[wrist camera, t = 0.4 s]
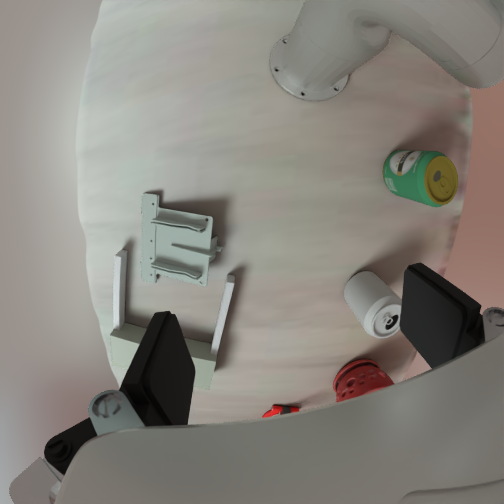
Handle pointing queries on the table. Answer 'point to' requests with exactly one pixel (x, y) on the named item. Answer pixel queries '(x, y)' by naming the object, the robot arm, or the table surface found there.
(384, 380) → the plant pot
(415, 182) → the beverage can
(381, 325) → the can
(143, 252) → the metal bracket
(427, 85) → the table surface
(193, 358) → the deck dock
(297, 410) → the tow hook
